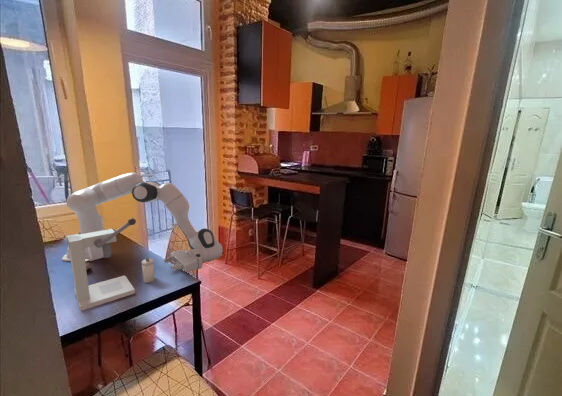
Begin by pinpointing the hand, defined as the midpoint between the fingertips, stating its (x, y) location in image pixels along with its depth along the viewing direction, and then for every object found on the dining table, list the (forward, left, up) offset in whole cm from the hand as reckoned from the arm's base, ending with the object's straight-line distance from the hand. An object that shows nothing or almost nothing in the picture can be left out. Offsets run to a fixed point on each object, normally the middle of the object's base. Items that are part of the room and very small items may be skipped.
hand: (168, 264), depth 143 cm
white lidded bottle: (-8, -6, -5) cm, 11 cm away
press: (-21, -15, -5) cm, 26 cm away
